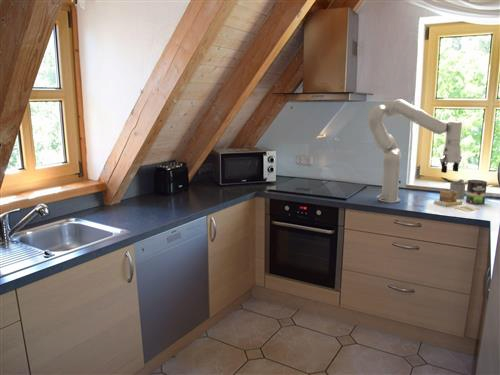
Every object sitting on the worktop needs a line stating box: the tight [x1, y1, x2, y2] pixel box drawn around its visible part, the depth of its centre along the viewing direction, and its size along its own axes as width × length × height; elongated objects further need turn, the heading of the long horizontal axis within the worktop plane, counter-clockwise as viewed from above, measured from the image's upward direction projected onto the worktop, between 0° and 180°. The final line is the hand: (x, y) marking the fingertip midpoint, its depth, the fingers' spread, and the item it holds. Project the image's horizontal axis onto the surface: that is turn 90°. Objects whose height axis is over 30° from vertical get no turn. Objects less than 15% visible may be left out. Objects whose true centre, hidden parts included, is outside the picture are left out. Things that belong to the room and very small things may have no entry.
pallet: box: [454, 205, 480, 213], centre depth 243 cm, size 11×9×1 cm
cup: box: [449, 181, 466, 200], centre depth 269 cm, size 8×8×10 cm
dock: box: [433, 199, 463, 208], centre depth 254 cm, size 13×9×3 cm
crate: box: [438, 189, 458, 203], centre depth 253 cm, size 6×7×6 cm
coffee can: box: [465, 179, 488, 205], centre depth 256 cm, size 10×10×14 cm
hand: (449, 171), depth 250 cm, fingers open, 9 cm apart
